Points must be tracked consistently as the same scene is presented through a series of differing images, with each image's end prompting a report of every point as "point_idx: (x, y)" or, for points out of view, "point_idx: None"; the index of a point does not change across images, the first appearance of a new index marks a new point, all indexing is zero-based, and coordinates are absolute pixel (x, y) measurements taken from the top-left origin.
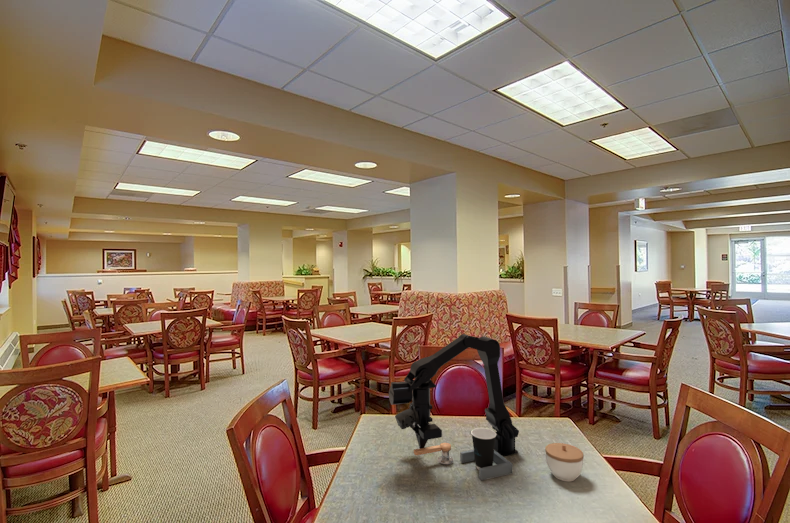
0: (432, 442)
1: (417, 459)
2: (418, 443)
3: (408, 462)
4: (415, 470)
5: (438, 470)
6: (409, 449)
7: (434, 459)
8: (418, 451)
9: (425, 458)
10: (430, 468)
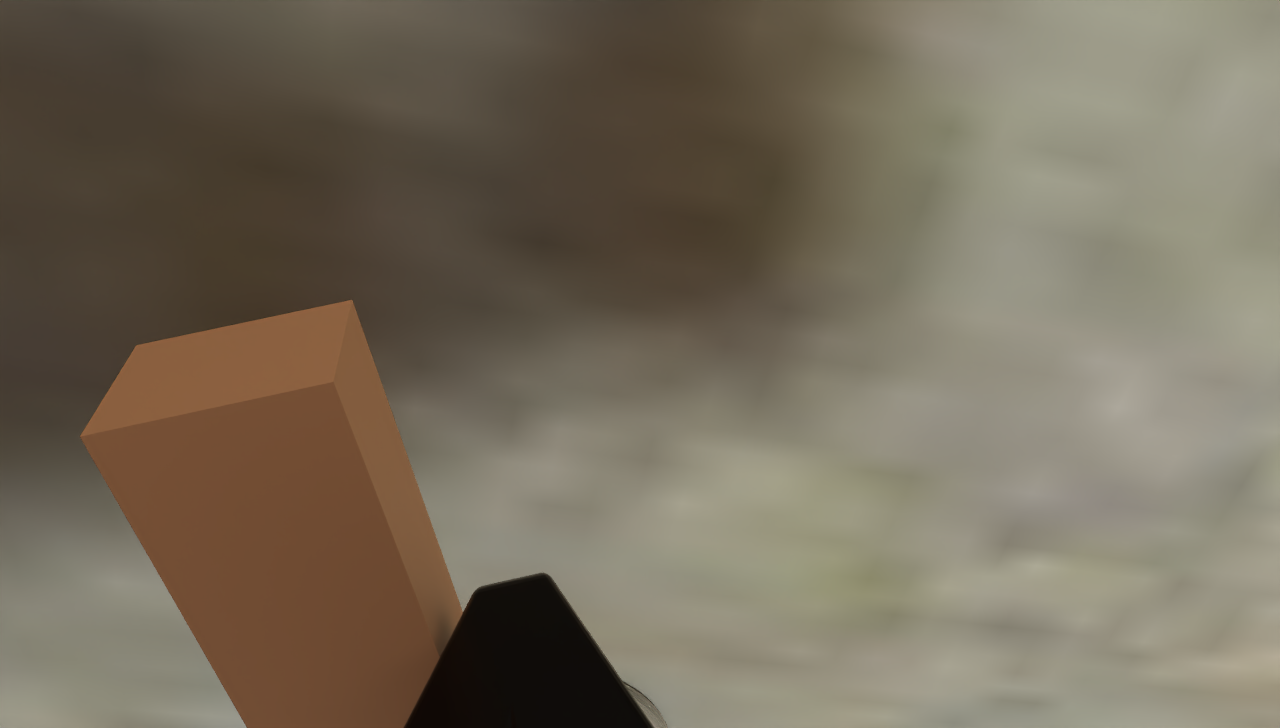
0: (1264, 656)
1: (720, 298)
2: (572, 713)
3: (615, 29)
4: (120, 143)
5: (147, 635)
6: (1260, 195)
7: (633, 619)
8: (145, 549)
9: (719, 471)
10: None
